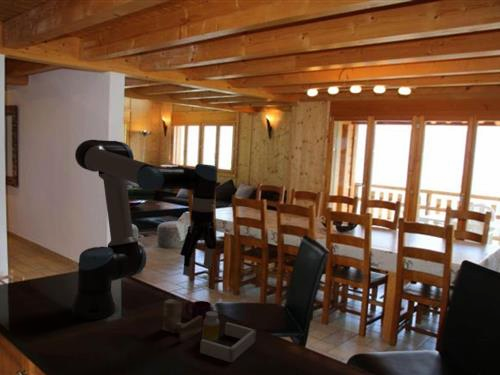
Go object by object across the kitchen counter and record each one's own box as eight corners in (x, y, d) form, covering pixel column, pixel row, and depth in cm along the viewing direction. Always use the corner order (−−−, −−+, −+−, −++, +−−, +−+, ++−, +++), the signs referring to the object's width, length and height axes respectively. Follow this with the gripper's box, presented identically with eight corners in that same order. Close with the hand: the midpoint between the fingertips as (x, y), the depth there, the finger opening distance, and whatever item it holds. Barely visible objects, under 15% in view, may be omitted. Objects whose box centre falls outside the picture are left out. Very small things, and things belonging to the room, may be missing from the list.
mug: (201, 327, 155) (202, 308, 154) (180, 319, 160) (182, 301, 160) (213, 322, 160) (214, 304, 160) (193, 314, 166) (194, 297, 165)
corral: (199, 352, 136) (200, 340, 135) (226, 333, 151) (227, 322, 151) (231, 362, 131) (232, 350, 131) (255, 341, 147) (256, 330, 146)
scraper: (154, 334, 146) (156, 305, 145) (175, 322, 157) (177, 295, 156) (182, 342, 141) (184, 313, 141) (202, 330, 152) (204, 302, 151)
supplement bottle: (199, 338, 145) (201, 311, 144) (214, 336, 148) (216, 309, 147) (205, 345, 140) (207, 317, 140) (220, 343, 143) (222, 315, 142)
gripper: (193, 215, 134) (187, 282, 137) (229, 208, 157) (223, 265, 159) (172, 212, 137) (167, 277, 140) (210, 205, 160) (205, 261, 162)
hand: (197, 270), depth 150 cm, fingers open, 13 cm apart
